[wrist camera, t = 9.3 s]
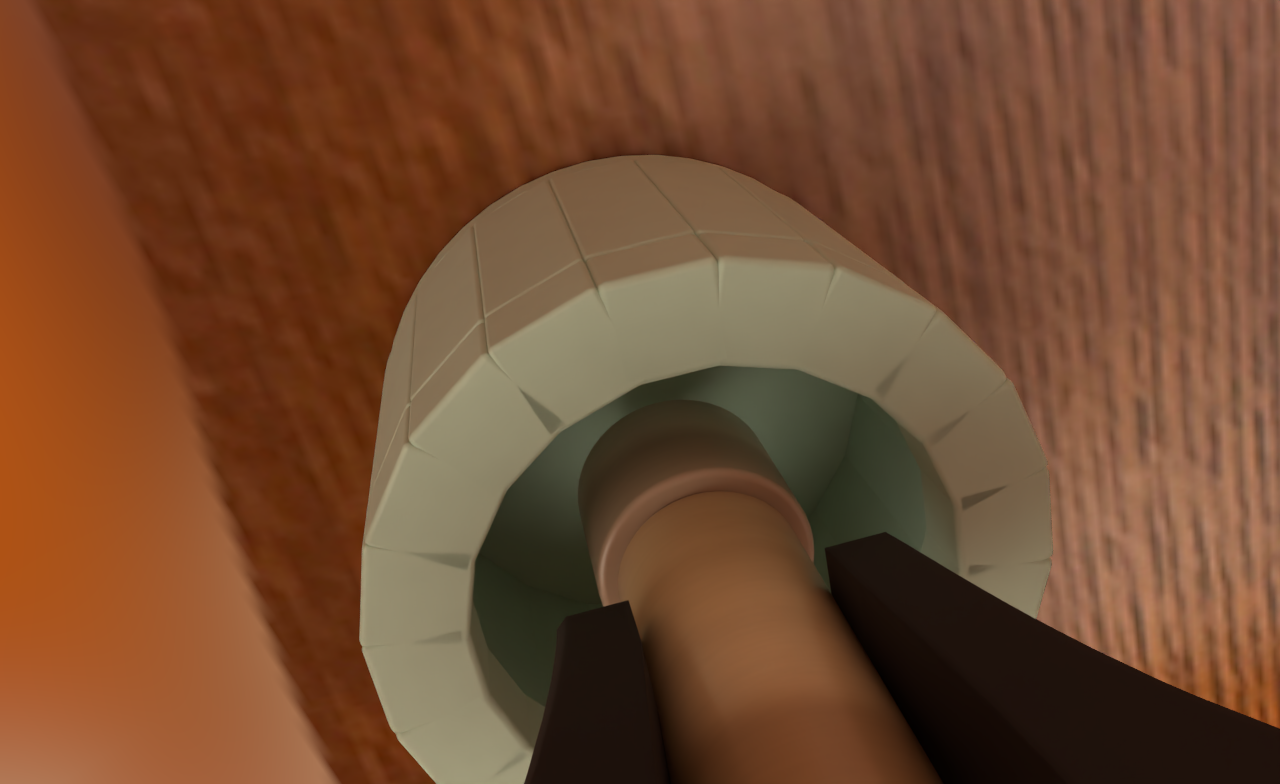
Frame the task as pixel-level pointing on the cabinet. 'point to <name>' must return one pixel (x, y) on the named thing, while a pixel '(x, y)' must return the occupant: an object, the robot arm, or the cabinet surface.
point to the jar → (640, 376)
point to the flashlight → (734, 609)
